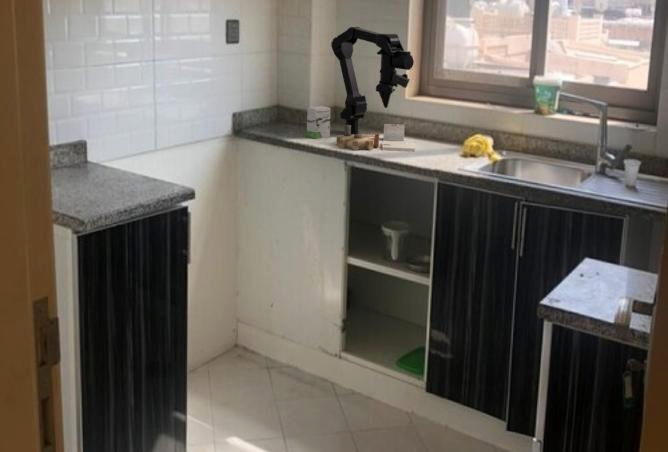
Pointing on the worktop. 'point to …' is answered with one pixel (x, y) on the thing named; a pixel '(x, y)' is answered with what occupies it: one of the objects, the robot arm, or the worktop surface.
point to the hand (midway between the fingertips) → (385, 107)
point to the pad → (398, 146)
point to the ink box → (318, 122)
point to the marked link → (393, 132)
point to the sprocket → (357, 140)
